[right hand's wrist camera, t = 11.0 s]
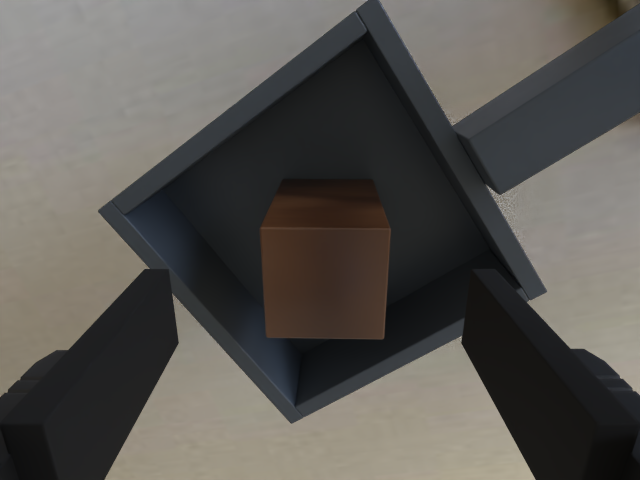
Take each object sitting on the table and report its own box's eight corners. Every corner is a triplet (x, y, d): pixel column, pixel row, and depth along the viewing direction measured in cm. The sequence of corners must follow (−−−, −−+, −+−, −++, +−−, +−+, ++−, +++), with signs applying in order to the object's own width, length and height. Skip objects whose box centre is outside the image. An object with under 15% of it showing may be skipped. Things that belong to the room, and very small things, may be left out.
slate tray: (299, 361, 26) (287, 449, 20) (147, 181, 22) (75, 223, 16) (840, 59, 19) (1075, 55, 13) (750, -283, 15) (1022, -516, 9)
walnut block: (285, 261, 23) (265, 338, 16) (282, 178, 21) (258, 227, 15) (369, 262, 23) (384, 340, 16) (373, 179, 21) (391, 228, 15)
